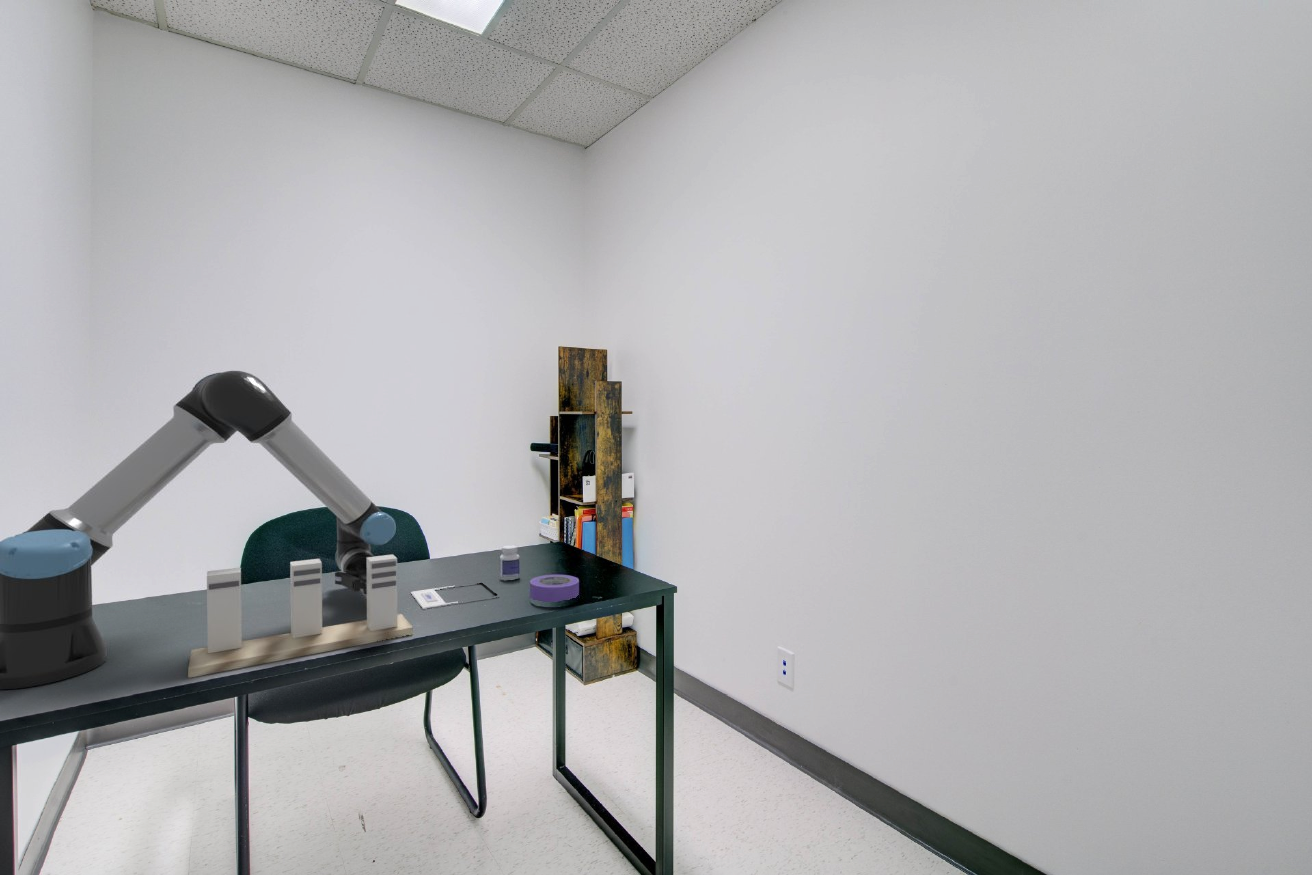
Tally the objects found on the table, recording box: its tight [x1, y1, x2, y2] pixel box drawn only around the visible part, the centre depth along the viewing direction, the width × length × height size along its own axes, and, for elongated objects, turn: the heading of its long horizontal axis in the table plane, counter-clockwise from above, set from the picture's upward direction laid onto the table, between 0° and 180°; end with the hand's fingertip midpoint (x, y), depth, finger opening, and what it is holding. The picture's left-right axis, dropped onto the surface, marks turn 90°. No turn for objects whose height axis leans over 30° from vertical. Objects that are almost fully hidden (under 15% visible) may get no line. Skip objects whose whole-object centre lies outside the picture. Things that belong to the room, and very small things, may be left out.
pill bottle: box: [499, 544, 521, 577], centre depth 164 cm, size 5×5×9 cm
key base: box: [187, 613, 414, 679], centre depth 115 cm, size 36×10×2 cm, turn 125°
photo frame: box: [410, 585, 458, 610], centre depth 148 cm, size 15×1×18 cm
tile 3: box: [366, 554, 398, 631], centre depth 122 cm, size 5×4×14 cm
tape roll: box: [529, 574, 580, 602], centre depth 145 cm, size 12×12×5 cm
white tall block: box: [289, 558, 323, 638], centre depth 117 cm, size 5×4×14 cm
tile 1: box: [206, 567, 243, 653], centre depth 110 cm, size 5×4×14 cm
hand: (379, 591), depth 124 cm, fingers closed
